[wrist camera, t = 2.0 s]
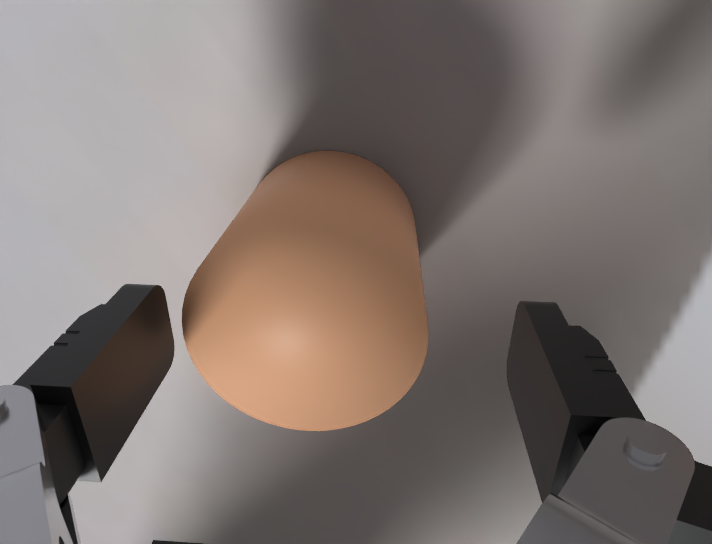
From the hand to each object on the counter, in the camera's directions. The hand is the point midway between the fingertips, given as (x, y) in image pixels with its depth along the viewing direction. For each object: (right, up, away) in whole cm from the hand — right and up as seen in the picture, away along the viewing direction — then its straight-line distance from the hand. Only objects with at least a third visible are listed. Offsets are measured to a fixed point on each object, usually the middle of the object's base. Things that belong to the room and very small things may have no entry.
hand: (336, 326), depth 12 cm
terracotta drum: (0, +2, +5) cm, 6 cm away
